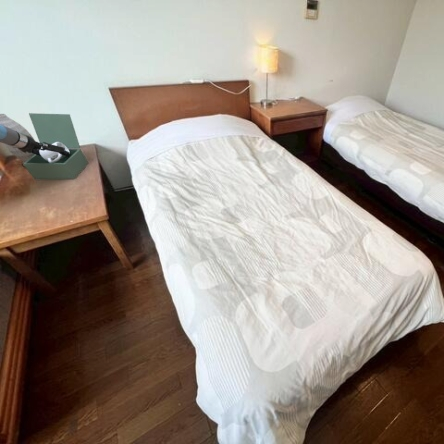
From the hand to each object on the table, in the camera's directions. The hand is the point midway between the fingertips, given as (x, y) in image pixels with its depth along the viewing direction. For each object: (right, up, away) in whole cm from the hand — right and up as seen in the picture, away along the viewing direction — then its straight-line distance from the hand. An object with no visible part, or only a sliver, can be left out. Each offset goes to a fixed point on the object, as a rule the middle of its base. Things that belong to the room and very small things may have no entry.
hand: (55, 154), depth 140 cm
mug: (+1, -2, +2) cm, 4 cm away
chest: (0, -9, +5) cm, 10 cm away
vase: (-22, -3, +9) cm, 23 cm away
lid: (0, +13, 0) cm, 13 cm away
